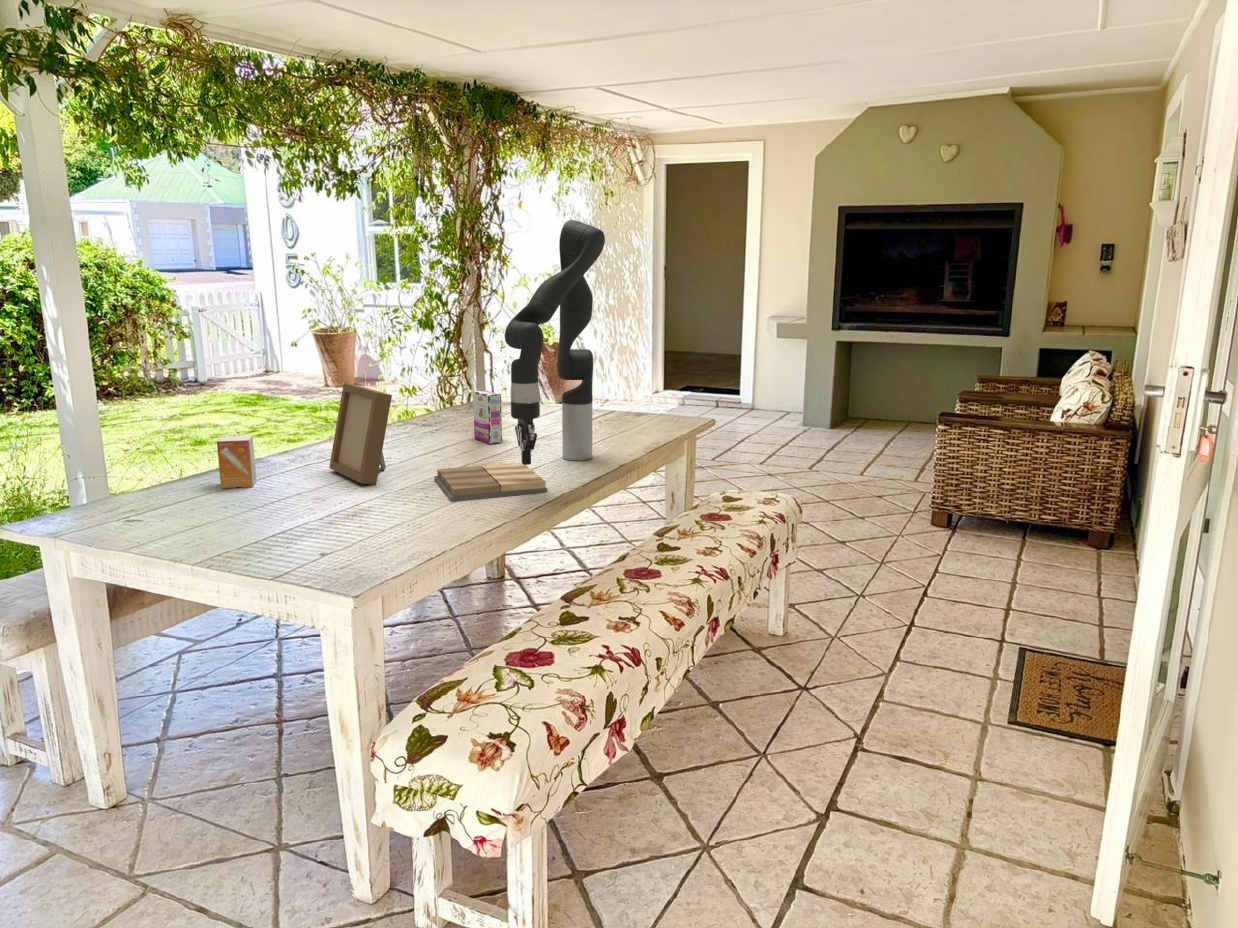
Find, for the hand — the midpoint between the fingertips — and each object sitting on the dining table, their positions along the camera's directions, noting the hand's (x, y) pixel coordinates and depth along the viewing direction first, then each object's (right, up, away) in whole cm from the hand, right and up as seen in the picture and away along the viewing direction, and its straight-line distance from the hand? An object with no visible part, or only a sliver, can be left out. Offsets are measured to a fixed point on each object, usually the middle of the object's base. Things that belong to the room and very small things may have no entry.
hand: (526, 464), depth 230 cm
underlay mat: (-10, -6, +5) cm, 13 cm away
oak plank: (-5, -4, +7) cm, 10 cm away
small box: (-78, -6, +4) cm, 78 cm away
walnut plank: (-16, -6, +3) cm, 18 cm away
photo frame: (-46, -3, +15) cm, 48 cm away
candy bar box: (-19, +8, +60) cm, 64 cm away
